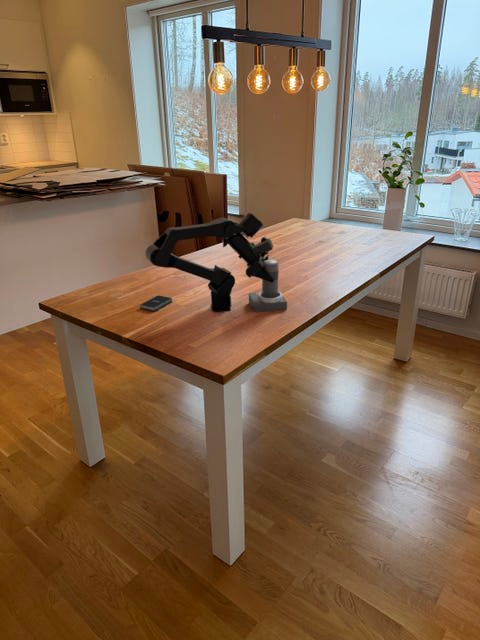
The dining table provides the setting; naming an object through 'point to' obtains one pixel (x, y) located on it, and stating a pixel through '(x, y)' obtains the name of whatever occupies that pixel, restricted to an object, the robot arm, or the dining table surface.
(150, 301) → the external hard drive
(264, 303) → the camera body
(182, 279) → the dining table surface
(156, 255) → the robot arm
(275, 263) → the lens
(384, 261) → the dining table surface
